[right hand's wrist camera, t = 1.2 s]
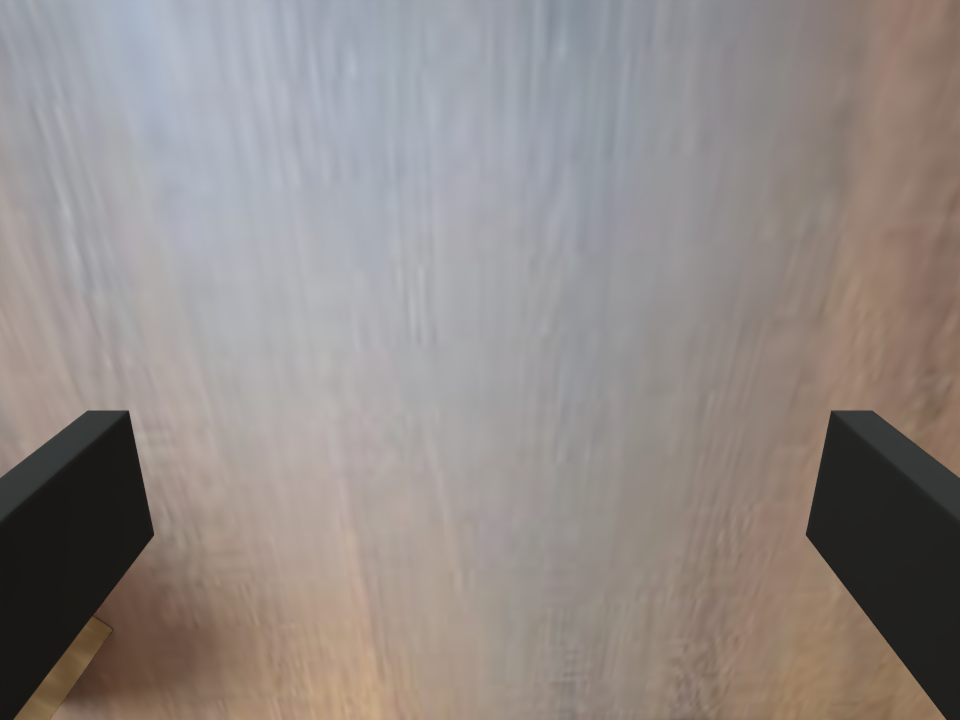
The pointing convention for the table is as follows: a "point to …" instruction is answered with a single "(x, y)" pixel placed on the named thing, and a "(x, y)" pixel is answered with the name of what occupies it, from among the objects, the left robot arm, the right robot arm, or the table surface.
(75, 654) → the chest
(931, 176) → the table surface
